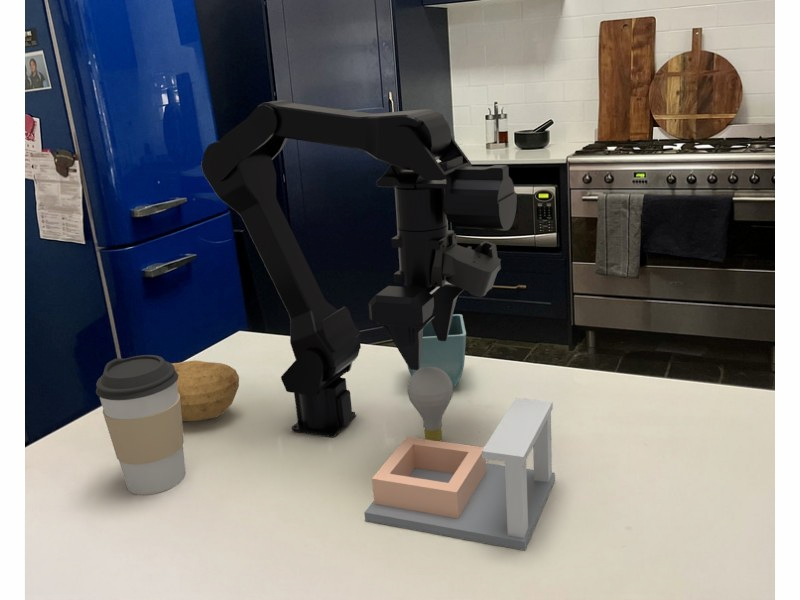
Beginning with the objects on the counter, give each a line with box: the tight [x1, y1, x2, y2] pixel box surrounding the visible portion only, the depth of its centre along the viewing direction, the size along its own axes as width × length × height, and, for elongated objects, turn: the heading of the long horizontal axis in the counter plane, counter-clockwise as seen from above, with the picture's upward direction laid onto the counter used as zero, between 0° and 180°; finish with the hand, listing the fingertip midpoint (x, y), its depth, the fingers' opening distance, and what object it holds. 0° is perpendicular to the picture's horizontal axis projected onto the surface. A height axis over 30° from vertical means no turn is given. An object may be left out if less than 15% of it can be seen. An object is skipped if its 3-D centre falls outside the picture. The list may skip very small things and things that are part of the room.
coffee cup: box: [95, 354, 186, 496], centre depth 90 cm, size 9×9×15 cm
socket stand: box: [363, 397, 556, 551], centre depth 81 cm, size 17×13×10 cm
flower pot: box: [406, 313, 467, 389], centre depth 111 cm, size 9×9×9 cm
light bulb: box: [407, 367, 454, 442], centre depth 94 cm, size 6×6×10 cm
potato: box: [170, 359, 240, 422], centre depth 106 cm, size 10×14×8 cm
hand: (429, 354), depth 91 cm, fingers open, 9 cm apart
